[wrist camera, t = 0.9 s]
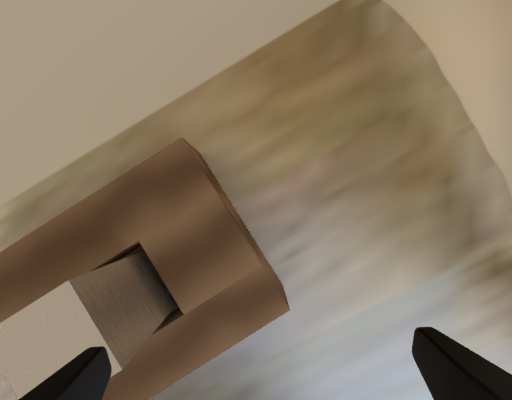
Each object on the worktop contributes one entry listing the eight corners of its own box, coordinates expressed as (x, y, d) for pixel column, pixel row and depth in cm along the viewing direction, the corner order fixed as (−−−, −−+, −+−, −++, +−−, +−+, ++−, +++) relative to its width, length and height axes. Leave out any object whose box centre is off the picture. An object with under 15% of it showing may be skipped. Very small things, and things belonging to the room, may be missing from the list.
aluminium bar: (185, 294, 22) (122, 369, 12) (136, 325, 22) (33, 425, 12) (155, 246, 22) (68, 280, 12) (107, 276, 22) (-20, 335, 12)
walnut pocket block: (282, 285, 24) (289, 310, 18) (105, 397, 24) (58, 455, 18) (199, 153, 24) (182, 137, 19) (24, 263, 24) (-45, 280, 19)
